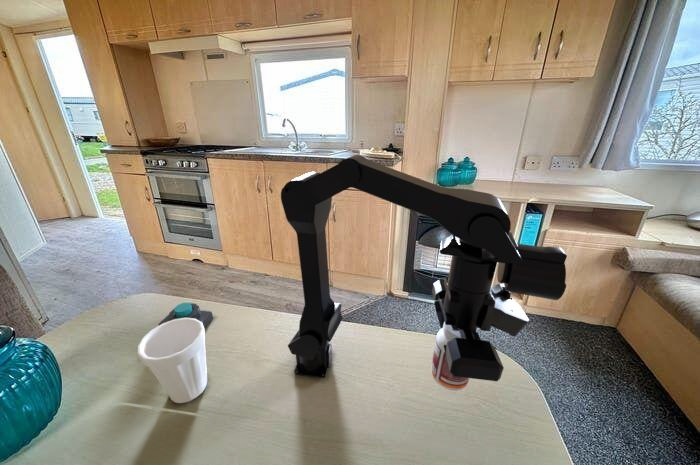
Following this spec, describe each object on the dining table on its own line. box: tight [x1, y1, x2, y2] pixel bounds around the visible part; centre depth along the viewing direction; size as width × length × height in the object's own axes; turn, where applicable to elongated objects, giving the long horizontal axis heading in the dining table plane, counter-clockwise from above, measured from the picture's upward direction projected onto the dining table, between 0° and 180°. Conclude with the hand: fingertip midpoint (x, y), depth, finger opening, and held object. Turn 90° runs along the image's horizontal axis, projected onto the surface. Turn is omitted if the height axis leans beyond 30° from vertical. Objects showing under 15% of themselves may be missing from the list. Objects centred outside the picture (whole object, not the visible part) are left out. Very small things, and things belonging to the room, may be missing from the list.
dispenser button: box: [173, 302, 193, 318], centre depth 67 cm, size 4×4×2 cm
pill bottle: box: [430, 321, 470, 392], centre depth 45 cm, size 6×6×11 cm
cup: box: [136, 318, 208, 404], centre depth 50 cm, size 10×10×13 cm
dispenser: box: [157, 302, 214, 329], centre depth 68 cm, size 10×6×4 cm, turn 82°
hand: (452, 360), depth 46 cm, fingers closed on pill bottle, 6 cm apart
